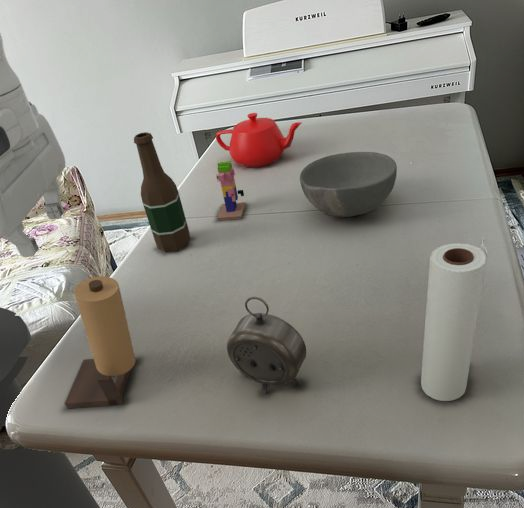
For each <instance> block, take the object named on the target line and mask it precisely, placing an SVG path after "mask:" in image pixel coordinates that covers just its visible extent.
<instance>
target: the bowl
mask: <svg viewBox="0 0 524 508" xmlns="http://www.w3.org/2000/svg"><path fill="white" fill-rule="evenodd" d="M397 167H398V166H397V162H396V161H395V160H394V158H393V157H391V156H389V155H387V154H385V153H381V152H374V151H353V152H351V151H350V152H343V153H335V154H330V155H327V156H324V157H321V158H318V159H316V160H314V161H312V162H310V163H308V164H307V165H306V166H304V167H303V169H302V170H301V172H300V174H299V184H300V187H301V190H302V192H303V194H304V196H305V198H306V199H307V200H308V202H309V203H310V204H311V205H312V206H313V207H314V208H316V209H317V210H319V211H320V212H322V213H323V214H326V215H328V216H332V217H342V218H346V217H347V218H348V217H355V216H360V215H364V214H367V213H370V212H372V211H374V210H376V209H377V208H379V207H380V206H382V204H383V203H384V202H385V201H386V200H387V198H389V196H390V195H391V193H392V191H393V190H394V187H395V184H396V179H397V172H398V171H397V170H398V169H397Z"/></svg>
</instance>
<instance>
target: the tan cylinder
mask: <svg viewBox="0 0 524 508" xmlns="http://www.w3.org/2000/svg"><path fill="white" fill-rule="evenodd" d="M73 294H74V297H75V298H74V299H75V301H76V304H77V307H78V311H79V314H80V318H81V321H82V325H83V327H84V331H85V335H86V338H87V342H88V345H89V348H90V351H91V354H92V357H93V358H92V359H94V362H95V365H96V368H97V370H98V371H99V372H100V373H101V374H103V375H106V376H112V378H113V380H114V382H116V379H117V376H118V375H121V374H124V373H126V372H128V371H129V370H130V369H131V370H132V369H133V368H134V366H135V358H136V354H135V351H134V346H133V341H132V337H131V333H130V329H129V323H128V320H127V315H126V310H125V306H124V301H123V297H122V293H121V288H120V284H119V281H117V280H116V279H115V278H113V277H110V276H105V275H99V276H98V275H97V276H93V277H89V278H85V279H84V280H82V281H81V282H79V283H78V284H77V285H76V286H75V287H74V289H73Z"/></svg>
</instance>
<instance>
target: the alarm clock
mask: <svg viewBox="0 0 524 508" xmlns="http://www.w3.org/2000/svg"><path fill="white" fill-rule="evenodd" d="M251 300H258V301H259V302H262V304H263V305H264V306H265V308H266V311H265V313H264V312H254V313H253V312H252V311H251V310H250V309H249V308H248V303H249V301H251ZM244 301H245V302H244V307H245V310H246V311H247V313H248V314H246V315H244V316H243V317H242V318H240V319H239V321H238V323H237V325H236V326H235V328H234V329H233V331H232V332H231V334H230V336H228V339H227V342H226V351H227V356H228V358H229V359H230V362H231V363H232V364H233V366H234V367H235V368H236V369H237V370H238V371H239V373H241V374H242V375H244V376H245V377H246V378H248V379H249V380H251V381H253V382H256V383H258V384H260V385H261V387H262V390H261V391H262V394H264V395H266V394H267V392H268V386H271V387H277V386H279V387H280V386H284V385H288V384H289V383H291V382H292V381H294V382H295V383H296V385H297V386H301V385H302V381H300V379H299V378H298V376H297V375H298V374H299V372H300V370H301V367H302V365H303V363H304V362H305V360H306V357H307V345H306V342H305V340H304V339H303V337H302V335H301V334H300V333H299V331H298V330H297V329H296V328H295V327H294V326H293V325H291V324H290V323H289V322H288V321H286V320H284V319H282V318H280V317H278V316H276V315H273V314H269V310H270V308H269V307H270V306H269V304H268V303H267V302H266V301H265V300H264V299H263V298H261V297H258V296H250V297H248V298H246V300H244Z"/></svg>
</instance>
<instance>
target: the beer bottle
mask: <svg viewBox="0 0 524 508" xmlns="http://www.w3.org/2000/svg"><path fill="white" fill-rule="evenodd" d="M153 139H154V137H153V135H152V133H150V132H148V131H147V132H140V133H138V134H137V133H136V134H135V136H134V137H133V144H135V145H136V149H137V153H138V157H139V161H140V164H141V169H142V170H141V171H142V175H143V176H142V182H141V185H140V199H141V201H142V205H143V208H144V211H145V214H146V218H147V221H148V225H149V227H150V230H151V233H152V236H153V239H154V242H155V244H156V247H157V248H158V250H160V251H162V252H164V253H175V252H179V251H181V250H183V249H185V248H186V247H188V246H189V244H190V240H191V234H190V233H191V232H190V230H189V225H188V222H187V218H186V215H185V211H184V208H183V203H182V200H181V196H180V193H179V189H178V187H177V184H176V183H175V182H174V180H173V178H171V176H169V175H168V174H167V173H166V172H165V171H164V168H163V166H162V164H161V161H160V158H159V156H158V152H157V150H156V147H155V144H154V141H153Z"/></svg>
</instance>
